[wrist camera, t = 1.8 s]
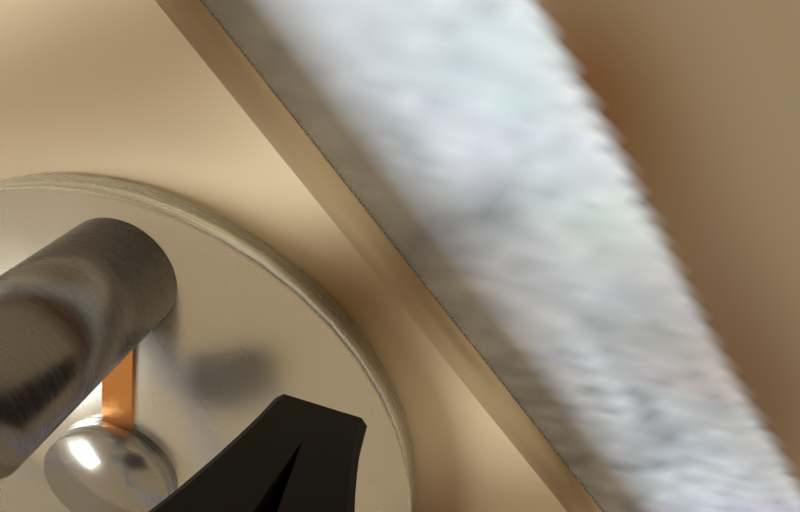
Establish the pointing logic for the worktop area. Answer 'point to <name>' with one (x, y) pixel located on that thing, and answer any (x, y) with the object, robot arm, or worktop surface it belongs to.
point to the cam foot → (163, 349)
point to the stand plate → (265, 215)
